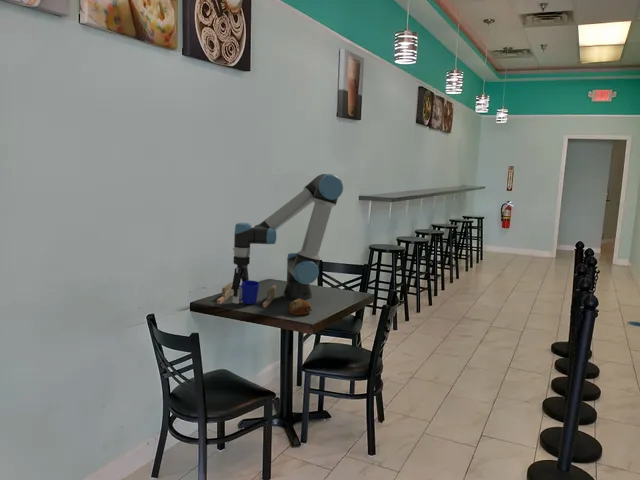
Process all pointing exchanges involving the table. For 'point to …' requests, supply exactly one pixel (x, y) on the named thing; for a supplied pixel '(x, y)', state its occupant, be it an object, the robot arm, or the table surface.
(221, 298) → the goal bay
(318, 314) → the table surface
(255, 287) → the mug
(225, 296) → the tunnel walls
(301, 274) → the robot arm
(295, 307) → the bread roll
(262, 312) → the table surface
